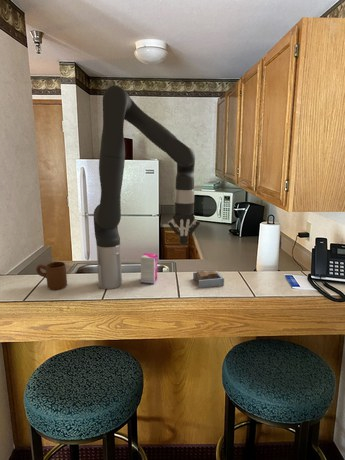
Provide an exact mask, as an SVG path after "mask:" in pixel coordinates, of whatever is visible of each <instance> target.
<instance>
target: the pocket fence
mask: <svg viewBox="0 0 345 460" xmlns="http://www.w3.org/2000/svg"><path fill="white" fill-rule="evenodd" d="M207 271H208V270H207ZM207 271H205V272H207ZM215 271H216V272H217V273H218V275H217V279H206V280H199V282H198V288H199V289H201V288H203V289H204V288H212V287H222V286H225V277H223V276H222V275H221V273H220V272H219V271H218V270H215ZM192 273H193V275H192V276H193V278H192V279H193V281H194V280H196V281H197V271H195V272H192Z"/></svg>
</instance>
